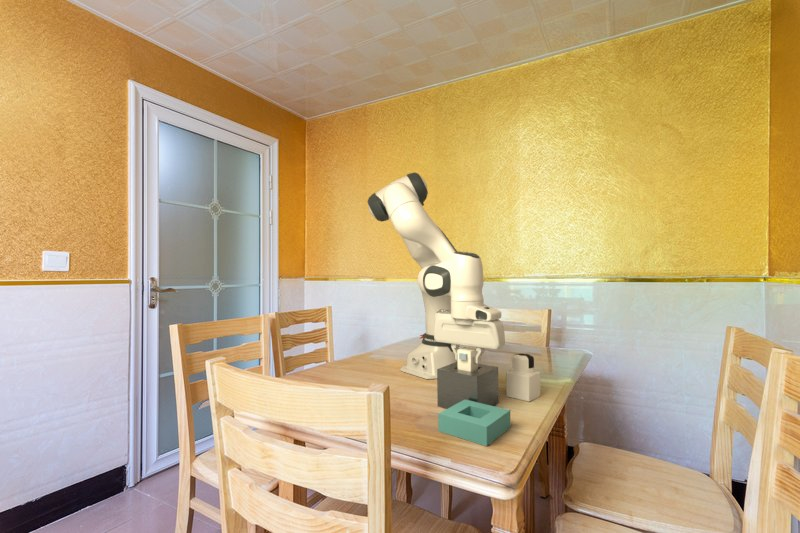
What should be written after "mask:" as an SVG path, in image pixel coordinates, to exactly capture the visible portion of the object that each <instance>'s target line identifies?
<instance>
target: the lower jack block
mask: <svg viewBox="0 0 800 533" xmlns="http://www.w3.org/2000/svg"><path fill="white" fill-rule="evenodd" d="M437 418H438V420H437V422H438V432H439V433H443V434H445V435H450V436H453V437H456V438H459V439H463V440H466V441H469V442H472V443H475V444H478V445H481V446H484V447H488V446H489V445H490V444H492V443H493V442H495V440H497V439H498V438H499V437H500V436H502V435H503V434H504V433H506V432H507V431H508V430H510V429H511V410H510V409H507V408H503V407H498V406H490V405H486V404H482V403H478V402H474V401H469V400H463V401H461V402H459V403H457V404H455V405H453V406H452V407H450V408H448V409H446V408H445V410H443V411H441V412H438V414H437Z"/></svg>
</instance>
